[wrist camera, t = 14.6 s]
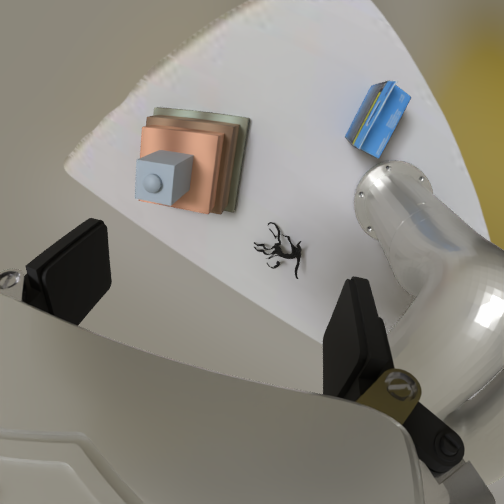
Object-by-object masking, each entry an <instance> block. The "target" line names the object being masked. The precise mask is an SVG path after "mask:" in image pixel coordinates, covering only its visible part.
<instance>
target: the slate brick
mask: <svg viewBox="0 0 504 504" xmlns="http://www.w3.org/2000/svg"><path fill="white" fill-rule="evenodd" d="M193 157H194V155H190V154H184V153H178V152H172V151H165V150H158V151H156V152H154V153H151V154H149V155H146V156H144V157H142V158H140V159H137V165H136V183H135V199H140V200H145V201H150V202H155V203H160V204H164V205H169V206H171V205H173V204H174V203H175V202H176V201H177V200H178V199H179V198H181V197H182V196H183V195H184V194H185V193H186V192H188V191H189V190H190V181H191V173H192V164H193Z"/></svg>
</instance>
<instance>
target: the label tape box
mask: <svg viewBox="0 0 504 504" xmlns="http://www.w3.org/2000/svg"><path fill="white" fill-rule="evenodd" d="M397 82H398V81H390V80H389V81H386V82H382V83H379V84H375V85H372V86H371V88H370V89H369V91H368V93H367V95H366V97H365V99H364V101H363V103H362V105H361V107H360V109H359V110H358V112H357V114H356V116H355V118H354V120H353V122H352V124H351V126H350V128H349V130H348V132H347V134H346V136H345V138H346V139H347V140H348V141H349V142H350V143H351V144H352V145H353V146H354V147H356V148H358V149H360V150H362V151H364V152H366V153H368V154H370V155H372V156H374V157H376V158H378V159H379V157H380V156H381V154H382V152H383V150H384V148H385V147H386V145H387V143H388V141H389V139H390V137H391V135H392V133H393V132H394V130H395V128H396V126H397V124H398V122H399V120H400V118H401V116H402V115H403V113H404V111H405V109H406V107H407V105H408V103H409V101H410V99H411V96H409V95H408V94H407V93H406V92H404V91H403V90H402V89H400V88H399V87H398V86H397V85H395V84H396V83H397Z"/></svg>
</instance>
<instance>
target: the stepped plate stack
mask: <svg viewBox="0 0 504 504" xmlns="http://www.w3.org/2000/svg"><path fill="white" fill-rule="evenodd" d="M248 124H249V118H245V117H239V116H232V115H225V114H218V113H210V112H202V111H193V110H183V109H172V108H159V107H157V108H154V114H153V116H150V117H147V121H146V126H145V127H142V135H141V150H140V158H142V157H144V156H146V155H149V154H151V153H154V152H156V151H158V150H165V151H172V152H178V153H184V154H190V155H194V157H193V164H192V173H191V181H190V190H189V191H188V192H186V193H185V194H184V195H183V196H182V197H181V198H179V199H178V200H177V201H176V202H175V203H174V204H173V205H171V206H169V205H164V204H160V203H155V202H150V201H145V200H140V199H138V201H143V202H149V203H154V204H159V205H164V206H169V207H174V208H180V209H185V210H190V211H195V212H200V213H205V214H209V213H210V212H211V213H215V214H220V215H221V214H222V212H223V211H228V212H234V210H235V206H236V199H237V193H238V186H239V180H240V174H241V167H242V161H243V155H244V149H245V143H246V136H247V130H248Z"/></svg>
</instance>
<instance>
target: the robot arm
mask: <svg viewBox="0 0 504 504" xmlns="http://www.w3.org/2000/svg"><path fill="white" fill-rule="evenodd" d="M386 166H388V168H387V169H386ZM420 177H421V179H419V178H420ZM360 192H362V194H359V193H360ZM354 210H355V214H356V217H357V219H358V222H359V224H360V225H361V227H362V229H363V230H364V231H365V232H366V233H367V234H368V235H370V236H371V237H372V238H374V239H376V240H378V241H379V242H380V244H381V246H382V248H383V251H384V253H385V255H386V257H387V260H388V262H389V264H390V266H391V268H392V271H393V273H394V275H395V277H396V279H397V281H398V283H399V284H400V285H401V286H402V288H403V289H404V290H405V291H407V292H408V293H410V294H411V295H413V296H415V297H416V299H415V300H414V302H413V303H412V304H411V306H410V307H409V308H408V309H407V311H406V312H405V314H404V315H403V317H402V318H401V319H400V320H399V322H398V323H397V324H396V325H395V326H394V328H393V329H392V330H391V331H390V332H389V333H388V335H387V333H386V330H385V326H384V322H383V320H382V318H380V317H378V314H377V310H376V306H375V302H374V299H373V295H372V291H371V288H370V284H369V281H368V280H367V279H363V278H359V277H354V276H353V277H352V278H351V280H349V279H347V280H346V281H345V284H344V286H343V289H342V291H341V294H340V297H339V299H338V302H337V304H336V307H335V309H334V312H333V314H332V317H331V319H330V322H329V324H328V326H327V329H326V331H325V334H324V337H323V394H318V393H313V392H308V391H302V390H298V389H293V388H287V387H282V386H277V385H273V384H268V383H263V382H259V381H254V380H250V379H245V378H241V377H237V376H233V375H229V374H225V373H221V372H217V371H213V370H209V369H205V368H202V367H198V366H194V365H191V364H188V363H184V362H180V361H177V360H174V359H171V358H167V357H164V356H161V355H158V354H155V353H151V352H148V351H145V350H142V349H139V348H136V347H133V346H130V345H127V344H125V343H122V342H119V341H116V340H114V339H111V338H108V337H106V336H103V335H100V334H98V333H95V332H92V331H90V330H87V329H85V328H82V327H79V326H78V325H79V324H80V322H81V321H82V320H83V319H84V318H85V316H86V315H87V314H88V313H89V312H90V311H91V309H92V308H93V307H94V306H95V305H96V303H97V302H98V301H99V300H100V299H101V298H102V297H103V295H104V294H105V293H106V292H107V291H108V290H109V288H110V286H111V282H112V281H111V270H110V260H109V247H108V232H107V226H106V225H105V224H104V222H103V221H102V220H97V219H93V218H89V219H88V220H86V221H85V222H83V223H82V224H81V225H79V226H78V227H76V228H75V229H73V230H72V231H71V232H69V233H68V234H67V235H65V236H64V237H62V238H61V239H60V240H58V241H57V242H56V243H54V244H53V245H52V246H50V247H49V248H48V249H46V250H45V251H44V252H43V253H41V254H40V255H39V256H37V257H36V258H35V259H34V260H32V261H31V262H30V263H29V264H27V265H26V270H27V274H26V275H25V276H24V274H23V272H22V271H21V270H19V269H7V270H4V271H2V272H0V504H496V503H495V499H494V497H493V495H492V493H491V492H490V490H489V489H488V487H487V485H490V484H492V483H494V482H496V481H497V480H499V479H501V478H503V477H504V369H503V370H502V371H501V372H500V373H499V374H498V375H497V376H496V377H495V378H494V379H493V380H492V381H491V382H490V383H489V384H488V385H486V384H487V383H488V382H489V381H490V380H491V379H492V378H493V377H494V376H495V375H496V374H497V373H498V372H499V371H500V370H501V369H502V368H503V367H504V250H502V249H501V248H499V247H498V246H496V245H495V244H493V243H491V242H490V241H488V240H487V239H485V238H484V237H483V236H481V235H480V234H478V233H477V232H476V231H475V230H473V229H472V228H471V227H470V226H469V225H468V224H466V223H465V222H464V221H463V220H462V219H461V218H460V217H459V216H458V215H457V214H455V213H454V212H453V211H452V210H451V209H450V208H448V207H447V206H446V205H445V204H444V203H443V202H442V201H440V200H439V199H438V198H437V197H436V196H435V195H433V190H432V187H431V184H430V182H429V180H428V179H427V177H426V176H425V175H424V174H423V172H422V171H421V170H419V169H418V168H417V167H415V166H413V165H412V164H410V163H407V162H404V161H396V160H394V161H386V162H383V163H380V164H378V165H376V166H374V167H372V168H371V169H370V170H369V171H368V172H366V174H365V175H364V176H363V177H362V178H361V180H360V182H359V184H358V186H357V189H356V192H355V197H354ZM369 226H370V228H367V227H369ZM485 385H486V386H485ZM483 386H485V387H484V388H483V389H482V390H481V391H480V392H479V393H478V394H477V395H475V396H474V397H473V398H472V399H470V400H468V399H469V398H470V397H471V396H473V395H474V394H475V393H476V392H478V391H479V390H480V389H481V388H482V387H483Z"/></svg>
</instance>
